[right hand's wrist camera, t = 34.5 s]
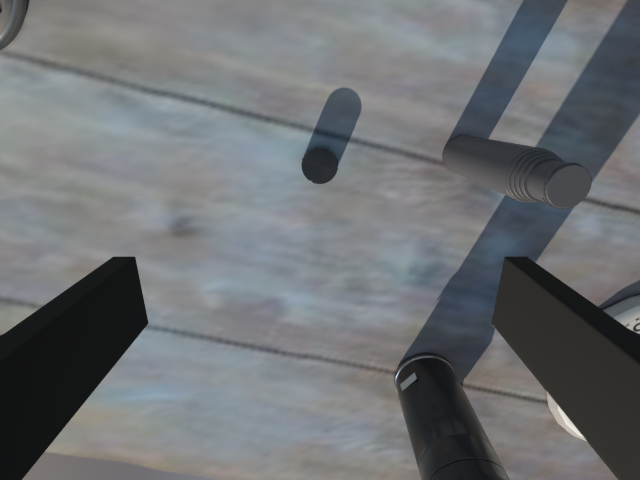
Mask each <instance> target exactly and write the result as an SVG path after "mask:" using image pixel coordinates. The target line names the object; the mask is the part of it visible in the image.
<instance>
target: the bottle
mask: <svg viewBox="0 0 640 480" xmlns="http://www.w3.org/2000/svg"><path fill="white" fill-rule="evenodd" d="M443 162H444V164H445V166H446V167H447V168H448V169H450V170H451V171H454V172H456V173H458V174H460V175H462V176H465V177H467V178H469V179H471V180H473V181H476V182H478V183H480V184H482V185H484V186H487V187H489V188H491V189H493V190H496V191H498V192H500V193H502V194H504V195H507V196H509V197H511V198H513V199H515V200H518V201H522V202H529V203H530V202H545V203H546V204H548V205H549V206H552V207H554V208H558V209H568V208H571V207H574V206H576V205H578V203H580V202H581V201H582V200H583V199H584V198H585V197H586V196H587V194H588V193H589V190H590V188H591V176H590V173H589V172H588V170H587V169H585V168H584V167H583V166H581V165H580V164H577V163H566V162H564V161H563V160H562V159H560V158H559V157H558V156H557V155H555V154H554V153H553V152H551V151H548V150H546V149H543V148H537V147H531V146H525V145H519V144H513V143H507V142H502V141H496V140H490V139H484V138H478V137H472V136H466V135H460V136H457V137H454V138H453V139H451V140H450V141H449V142H448V143H447V144H446V146H445V148H444V150H443Z"/></svg>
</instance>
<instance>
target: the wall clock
mask: <svg viewBox="0 0 640 480" xmlns="http://www.w3.org/2000/svg"><path fill="white" fill-rule="evenodd" d="M603 311H604V312H606V313H607V314H608V315H610V316H611V317H613V318H614V319H615V320H617V321H618V322H620V323H621V324H623V325H624V326H625V327H627V328H628V329H630V330H632V331H634V332H636V333H638V334H640V295H637V296H633V297H629V298H627V299H625V300H623V301H621V302H619V303H617V304H615V305H613V306H611V307H608V308H606V309H604V310H603ZM546 392H547V391H546ZM547 400H548V406H549V408H550V410H551V412H552V413H553V415H554V417H555V419H556V421H557V422H558V423H559V424H560V425H561V426H562V427H563V428H565V429H566V430H567V431H568V432H569V433H570V434H572V435H574V436H576V437H578V438H581V439H583V440H585V441H587V440H586V439H585V438H584V437H583V435H582V434H581V433H580V432H579V431H578V429H577V428H576V427H575V426H574V424H573V423H572V422H571V421H570V419H569V418H568V417H567V416H566V414H565V413H564V412H563V411H562V410H561V408H560V407H559V406H558V405H557V403H556V402H555V401H554V400H553V398H552V397H551V396H550V395H549V393H548V392H547Z"/></svg>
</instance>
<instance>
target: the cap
mask: <svg viewBox="0 0 640 480" xmlns="http://www.w3.org/2000/svg"><path fill="white" fill-rule="evenodd" d="M302 160H303V161H302V170H303V173H304V175H305V177H306V178H307V179H308V180H309V181H311V182H313V183H317V184H323V183H326V182H328V181H330V180H331V179H332V178H333V177H334V176H335V174H336V172H337V168H338V163H337V158H336V157H335V154H334V153H333V151H331V150H330V149H329V148H326V147H325V146H324V147H323V146H315V147H313V148H311V149H310V150H308V151H307V153H306V154H305V155H304V158H303V159H302Z"/></svg>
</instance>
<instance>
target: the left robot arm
mask: <svg viewBox="0 0 640 480" xmlns="http://www.w3.org/2000/svg"><path fill="white" fill-rule="evenodd" d="M394 384H395V388H396V391H397V393H398V396H399V400H400V404H401V407H402V411H403V415H404V418H405V422H406V425H407V429H408V433H409V436H410V440H411V443H412V447H413V451H414V454H415V458H416V461H417V465H418V469H419V472H420V475H421V479H422V480H510V479H509V477H508V475H507V474H506V472H505V470H504V468H503V466H502V464H501V462H500V460H499V458H498V456H497V454H496V452H495V450H494V448H493V447H492V445H491V443H490V441H489V439H488V437H487V435H486V433H485V431H484V429H483V427H482V425H481V423H480V421H479V419H478V417H477V415H476V413H475V412H474V410H473V408H472V406H471V404H470V402H469V400H468V398H467V396H466V394H465V392H464V390H463V388H462V386H461V384H460V382H459V380H458V378H457V376H456V374H455V371H454V369H453V367H452V365H451V364H450V362H449V361H448V360H446V359H445V358H443V357H442V356H439V355H436V354H430V353H424V354H418V355H415V356H412V357H410V358H408V359H406V360H405V361H404V362H403V363H401V365H400V366H399V367H398V368H397V370H396V372H395V376H394Z"/></svg>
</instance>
